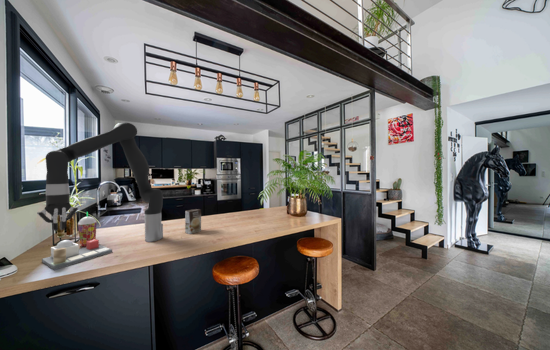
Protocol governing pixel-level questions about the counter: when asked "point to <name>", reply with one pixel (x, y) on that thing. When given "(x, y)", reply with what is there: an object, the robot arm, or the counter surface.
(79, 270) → the counter surface
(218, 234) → the counter surface
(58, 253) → the tan block
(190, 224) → the coffee box
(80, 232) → the smoothie
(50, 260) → the game board
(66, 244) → the dome
